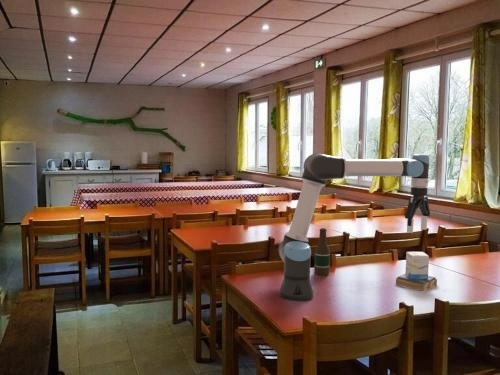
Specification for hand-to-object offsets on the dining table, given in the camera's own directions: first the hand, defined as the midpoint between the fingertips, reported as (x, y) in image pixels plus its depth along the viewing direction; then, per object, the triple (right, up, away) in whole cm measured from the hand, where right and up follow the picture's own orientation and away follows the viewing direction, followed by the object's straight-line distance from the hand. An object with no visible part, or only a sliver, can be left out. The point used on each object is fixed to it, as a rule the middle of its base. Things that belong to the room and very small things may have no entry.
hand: (416, 230), depth 225 cm
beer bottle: (-43, -25, +19) cm, 53 cm away
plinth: (+1, -27, +3) cm, 27 cm away
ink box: (+1, -23, +2) cm, 23 cm away
